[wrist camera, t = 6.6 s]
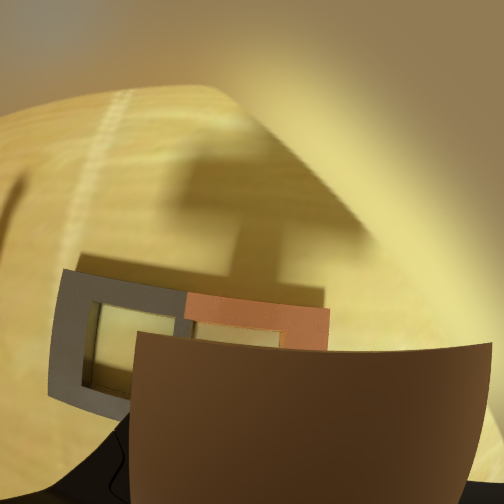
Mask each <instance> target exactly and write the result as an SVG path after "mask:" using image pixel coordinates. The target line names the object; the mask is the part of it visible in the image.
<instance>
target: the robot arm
mask: <svg viewBox="0 0 504 504" xmlns="http://www.w3.org/2000/svg"><path fill="white" fill-rule="evenodd" d="M129 422H130V411H129V413H128V414H127V415H126V416H125V417H124V418H123V420H122V421H121V422H120V423H119V424H118V425H117V426H116V428H115V429H114V430H115V431H112V432H111V433H110V434H109V436H108V437H107V438H106V439H105V440H104V441H103V442H102V443H101V444H100V445H99V446H98V448H97V449H96V450H95V451H93V452H92V453H91V454H90V455H89V456H88V457H87V458H86V459H85V460H84V461H82V462H81V463H80V464H79V465H78V466H76V467H75V468H74V469H73V470H71V471H70V472H69V473H68V474H67V475H65V476H64V477H63V478H62V479H60V480H59V481H58V482H56V483H55V484H53V485H52V486H50V487H48V488H46V489H44V490H41V491H38V492H34V493H30V494H26V495H22V496H18V497H13V498H8V499H3V500H0V504H131V496H130V477H129ZM458 504H504V483H489V482H476V481H467V482H466V484H465V487H464V490H463V492H462V495H461V497H460V500H459V502H458Z"/></svg>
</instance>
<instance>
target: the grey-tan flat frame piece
mask: <svg viewBox="0 0 504 504" xmlns="http://www.w3.org/2000/svg"><path fill="white" fill-rule="evenodd" d="M101 304H103V305H108V306H112V307H117V308H122V309H126V310H131V311H136V312H141V313H146V314H152V315H157V316H163V317H169V318H174V319H175V326H174V334H173V336H175V337H183V338H192V332H193V324H194V322H200V323H207V324H214V325H221V326H229V327H237V328H246V329H255V330H265V331H275V332H280V342H279V348H287V349H303V350H323V351H327V348H328V335H329V319H330V309H327V308H315V307H305V306H295V305H285V304H276V303H267V302H259V301H251V300H243V299H235V298H227V297H220V296H213V295H206V294H199V293H192V292H186V291H179V290H173V289H167V288H161V287H155V286H149V285H143V284H138V283H132V282H127V281H121V280H116V279H111V278H106V277H101V276H96V275H91V274H86V273H81V272H77V271H72V270H67V269H63V273H62V277H61V282H60V287H59V292H58V297H57V302H56V308H55V314H54V321H53V328H52V336H51V345H50V356H49V371H48V396H50V397H52V398H55V399H57V400H60V401H62V402H64V403H67V404H69V405H72V406H75V407H77V408H80V409H83V410H86V411H88V412H91V413H94V414H97V415H100V416H103V417H107V418H110V419H113V420H117V421H120V422H121V421H122V420H123V418H124V417H125V416H126V415H127V414H128V413H129V411H130V401H131V394H128V393H124V392H120V391H116V390H113V389H109V388H106V387H102V386H99V385H96V384H92V383H91V380H92V367H93V356H94V347H95V339H96V331H97V324H98V318H99V311H100V305H101Z"/></svg>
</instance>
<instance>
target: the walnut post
mask: <svg viewBox="0 0 504 504" xmlns="http://www.w3.org/2000/svg"><path fill="white" fill-rule="evenodd" d="M491 359H492V342H491V343H484V344H477V345H469V346H459V347H449V348H438V349H423V350H404V351H323V350H303V349H287V348H274V347H261V346H251V345H241V344H232V343H223V342H216V341H208V340H201V339H192V338H183V337H175V336H168V335H160V334H154V333H147V332H141V331H137V338H136V346H135V355H134V364H133V374H132V386H131V401H130V422H129V477H130V496H131V504H458V502H459V500H460V497H461V495H462V492H463V490H464V487H465V484H466V482H467V479H468V476H469V473H470V470H471V467H472V464H473V461H474V458H475V454H476V451H477V447H478V443H479V439H480V435H481V431H482V426H483V421H484V416H485V411H486V405H487V398H488V391H489V382H490V373H491Z"/></svg>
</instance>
